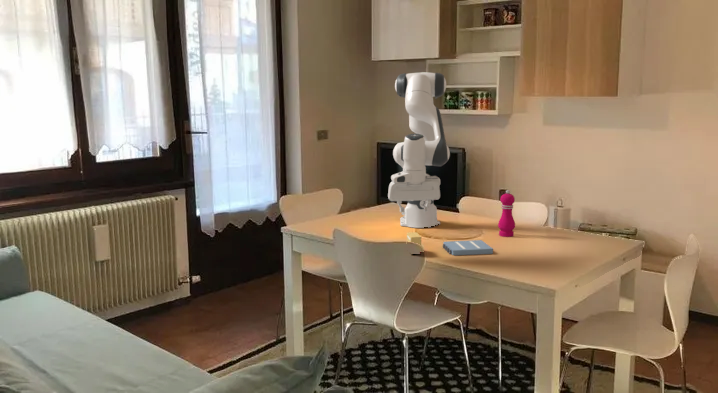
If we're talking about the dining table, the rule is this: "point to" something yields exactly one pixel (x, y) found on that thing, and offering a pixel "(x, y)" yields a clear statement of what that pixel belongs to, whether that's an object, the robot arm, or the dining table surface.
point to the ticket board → (467, 247)
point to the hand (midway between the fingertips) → (413, 211)
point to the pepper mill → (506, 215)
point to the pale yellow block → (414, 237)
